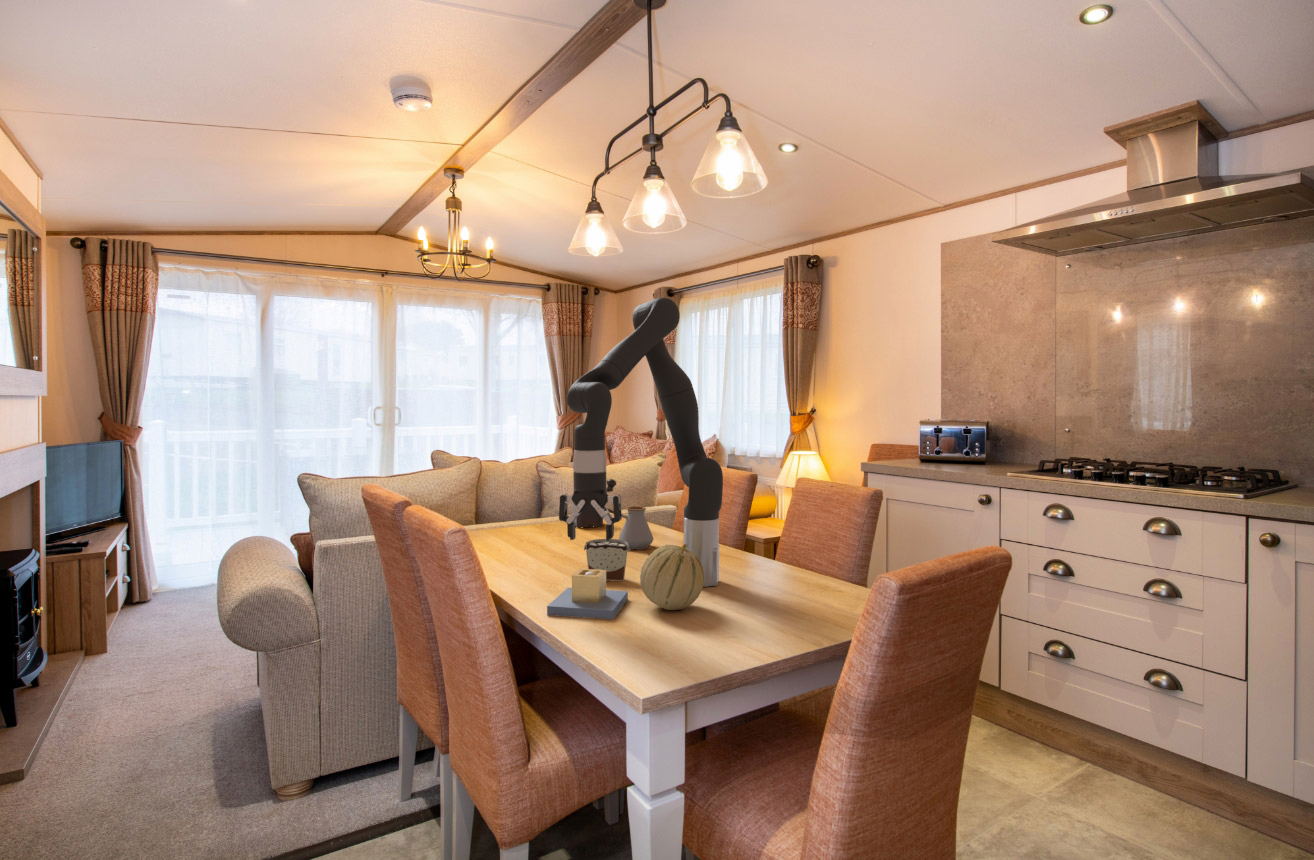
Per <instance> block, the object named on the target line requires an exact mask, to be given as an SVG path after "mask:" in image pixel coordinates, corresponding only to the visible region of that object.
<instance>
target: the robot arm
mask: <svg viewBox="0 0 1314 860" xmlns="http://www.w3.org/2000/svg"><path fill="white" fill-rule="evenodd" d="M680 314H681V313H680V310H679V307H678V304H676V302H675V301H674V300H672V299H671V298H669V297H664V296H663V297H657V298H654V299H651V300H649V301H646V302H644V303H641V304H638V305H637V306H636V307H635V308H634V310H633V311H632V326H633V329H634V331H632V332H631V333H630V334H629V335H628V336H626V337H625V338H624V339H622V340H621V341H620V342H618V343H617V344H616V345H614V346H613V347H612V348H611V349H610V350H609V351H608V352H607V353H606V354H605V356H604V357H602V359H601V360H600V361H599V363H597V365H596V366H594V367H593V368H592V369H591V370H589V371H587V372H585V374H583V375H582V376H580V378H578V379H576V380H575V382H573V384H571V385H570V388H569V389H568V392H567V395H566V402H567V406H568V407H569V409H570V410H572V411H573V412H575V413H578V414H586V416H585V420H584V422H583V423H580V424H577V425H576V426H575V428H574V429H573V430H574V431H573V445H574V446H573V448H574V450H573V459H572V460H573V461H572V463H573V464H572V473H573V476H572V477H573V479H572V480H573V494H567V493H563V494H561V495H560V496H559V505H558V506H559V511H558V520H559V521H561V522H565V523H566V524H567V527H566V528H567V533H566V534H567V538H569V540H570V541H574V540H575V539H576V538H577V537H576V532H577V531H576V527H575V523H574V520H575V519H576V518H577V516H578V515H579V514H580V513H583V514H588V513H590V514H597V513H599V515H600V516H601V517H602V518H603V521H605V523H606V524H605V539H606V541H610V540H611V539H614V536H615V532H614V531H615V529H614V528H615V526H614V525H615V524H616V523H619V522H620V521H621V520H622V519H623V517H622V500H621V495H620V494H616V495H608V492H607V491H606V489H607V456H606V455H607V454H606V429H607V426H608V423H609V422H608V421H609V417H610V413H611V409H612V402H613V401H612V400H613V399H612V398H613V397H612V393H611V390H612V391H613V390H615V389H617V388H618V387H619V386H620V385H621V384H622V382H623V381H624V380H625V379H626V378H627V376H628V375H630V373H631V372H632V371H633V369H634V368H635V367H636V366H637V365H638V364H639V362H641V360H642V359H643V358H644V357H645V358H646V361H647V364H648V366H649V370H650V373H651V377H652V379H653V381H654V384H655V388H656V392H657V395H658V399H659V403H660V406H661V409H662V412H663V416H664V418H665V420H666V424H667V427H668V429H669V430H668V431H669V432H670V436H671V438H672V440H673V444H674V448H675V451H676V452H675V453H676V457H677V463H678V470H679V473H680V478H681V479H682V482H683V483H684V485H685V486H686V487H687V488H688V500H687V504H686V505H685V506H684V508H683V545H684V544H686V545H687V547H686V549H688V550H690V551H691V552H693V553H694V554H695V555H696V556H697V557H698V558H699V560H700V562H701V564H702V566H703V570H704V585H703V588H705V587H717V586H718V584H719V581H720V545H719V540H720V538H719V535H720V533H719V531H720V511H721V509H722V504H723V493H724V492H723V490H724V489H723V488H724V473H723V470H722V467H721V465H720V463H719V462H718V461H716V460H715V459H713V458H711V457H708V456H707V453H706V452H705V449H704V445H703V443H702V440H701V436H700V429H699V428H700V427H699V425H700V423H699V422H700V421H699V420H700V419H699V405H698V400H697V396H696V392H695V390H694V386H693V384H692V382H691V379H690V377H689V376H688V375H687V373H686V372H685V371H684V370H683V368H681V367H680V365H679V364H678V363H677V362H676V361H675V360H674V359H673V357H672V356H671V354H670V353H669V351H668V349H667V346H666V343H665V340H664V338H666V337H667V336H668V335H669V334H671V333H672V332H673V331H674V330H675V329H676V328H677V327H678V325H679V324H680V318H681V315H680ZM571 501H572V504H573V503H574V504H575V506H576V508H575V509H574V510H573V512H571V513H570V515H568V505H569V504H570V503H571ZM608 502H610V505H611V506H612V508H613V511H614V514H613V516H612V513H609V511H608V509H609V508H608V507H606V505H607V503H608ZM607 508H608V509H607ZM683 545H682V546H683Z"/></svg>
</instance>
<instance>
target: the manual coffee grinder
mask: <svg viewBox="0 0 1314 860" xmlns="http://www.w3.org/2000/svg"><path fill="white" fill-rule="evenodd" d="M616 485H617V481H616V480H615V479H612V478H609V479H606V491H607V493H611V492H614V488H615V486H616ZM575 508H576V506H575V504H574V503H573V502H572V510H571V511H572V512H573V510H574V509H575ZM572 512H571V513H572ZM574 523H575V526H576V527H591V528H594V527H593V526H603V527H604V519H603V518H602V517H601V516H600V515H599V513H597V514H590V513H588V514H583V513H580V514H579V515H578V516H577V518H576V519H575V520H574ZM576 527H575V528H576Z"/></svg>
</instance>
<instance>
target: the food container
mask: <svg viewBox="0 0 1314 860" xmlns="http://www.w3.org/2000/svg"><path fill="white" fill-rule="evenodd" d="M583 547H584V548H583V551H586V561H587V569H597V570H606V581H608V580H620V581H619V582H625V576H626V575H625V574H626V566H627V559H628V558H627V557H628V552H630V551H631V549H629V545H628V542H626V541H624V540H619V539H616V538H611V540H610V541H606V538H597V539H591V540H588V541H586V542H585V545H584V546H583Z"/></svg>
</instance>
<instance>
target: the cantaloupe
mask: <svg viewBox="0 0 1314 860" xmlns="http://www.w3.org/2000/svg"><path fill="white" fill-rule="evenodd" d="M683 544H684V543H683ZM686 547H687V545H686V544H684V545H681V546H680V545H676V544H665V545H662V546H660V547H658V548H656V549H655V550H654V551H652V553H650V554H649V555H648V556H647V557H646V559H645V560H644V562H643V564H642V566H641V568H640V569H641V570H640V575H639V579H640V581H639V583H640V587H641V590H642V592H643V594H644V595H645V597H646V598H647V600H649V602H652V604H654V605H655V606H657V607H660V608H662V609H664V610H666V611H677V610H683V609H685V608H688V607H690V606H692V605H693V604H694V603H695V601H696V600H697V599H699V596H700V594H701V593H702V591H703V588H704V587H703V585H704V570H703V566H702V564H701V562H700V560H699V558H698V557H697V556H696V555H695V554H694V553H693V552H691V551H690V550H688V549H686Z"/></svg>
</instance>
